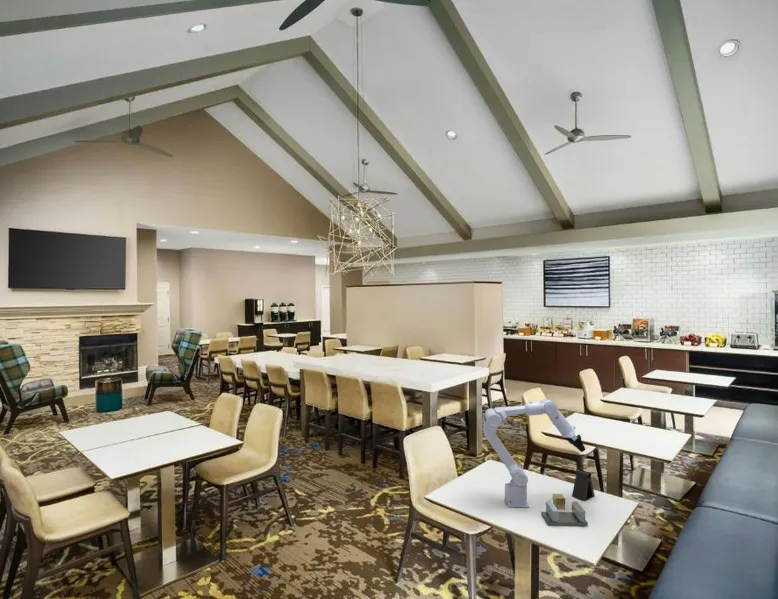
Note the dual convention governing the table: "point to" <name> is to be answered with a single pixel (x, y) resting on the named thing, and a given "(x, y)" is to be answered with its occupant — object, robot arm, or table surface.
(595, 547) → the table surface
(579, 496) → the phone stand
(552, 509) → the sliding jaw
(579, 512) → the vise
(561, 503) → the brass block
